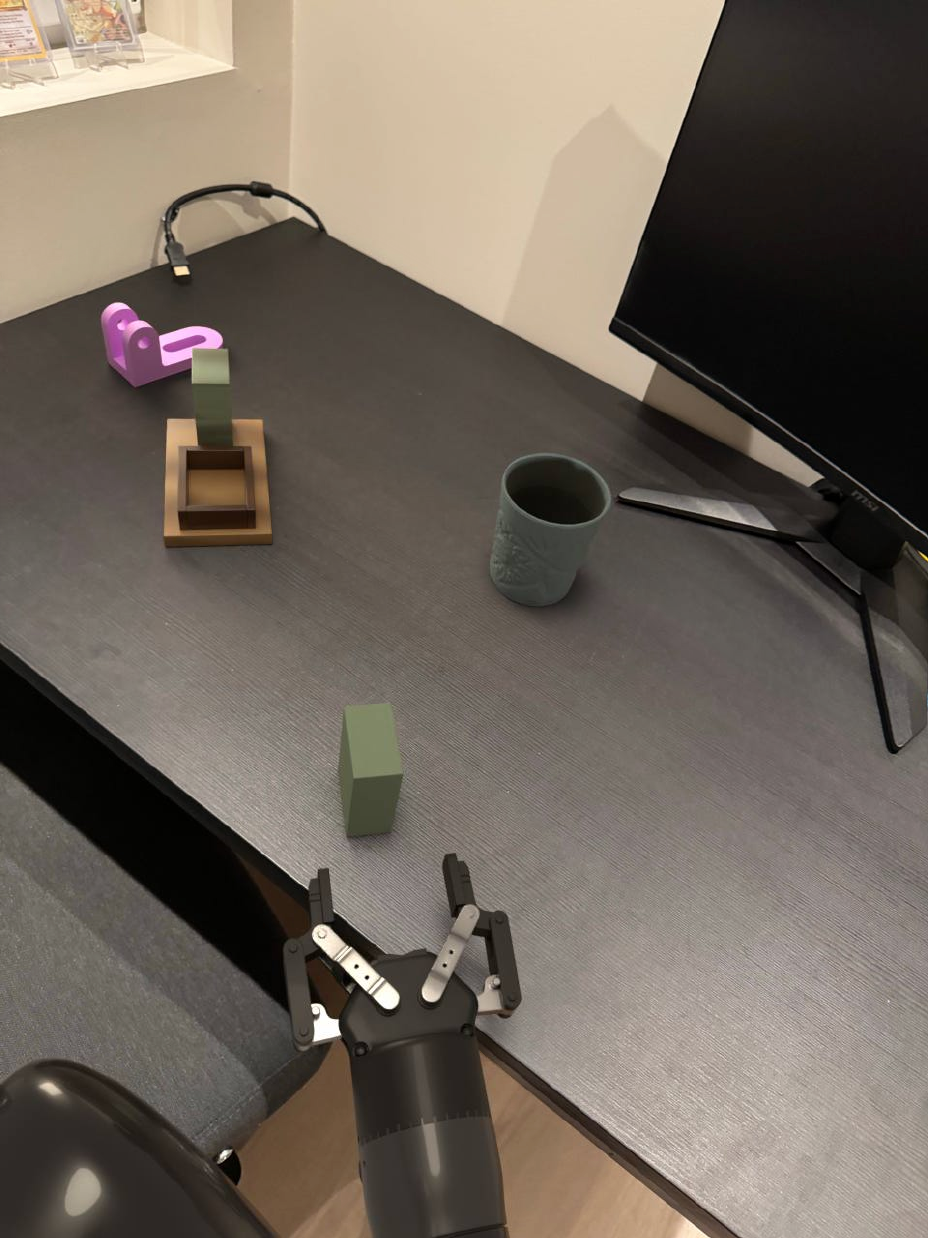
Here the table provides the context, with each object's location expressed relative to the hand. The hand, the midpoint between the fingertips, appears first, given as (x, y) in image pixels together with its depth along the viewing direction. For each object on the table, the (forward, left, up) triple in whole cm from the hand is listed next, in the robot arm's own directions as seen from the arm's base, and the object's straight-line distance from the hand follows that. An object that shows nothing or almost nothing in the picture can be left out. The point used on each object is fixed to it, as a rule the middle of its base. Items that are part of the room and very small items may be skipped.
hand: (386, 865), depth 57 cm
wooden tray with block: (+22, +42, -7) cm, 48 cm away
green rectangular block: (+5, +6, -7) cm, 11 cm away
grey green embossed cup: (+35, +11, -7) cm, 38 cm away
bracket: (+32, +62, -7) cm, 71 cm away
